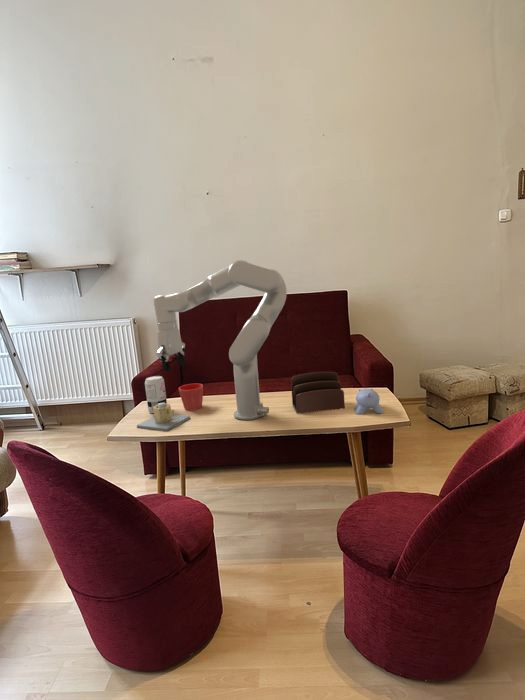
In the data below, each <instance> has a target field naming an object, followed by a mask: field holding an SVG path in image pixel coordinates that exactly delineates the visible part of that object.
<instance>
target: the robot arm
mask: <svg viewBox="0 0 525 700" xmlns="http://www.w3.org/2000/svg"><path fill="white" fill-rule="evenodd" d="M240 286H243V287H245V288H248V289H252V290H256V291H258V292H259V291H260V292H261V293H262V292H263V293H264V295H263V297H262V299H261V301H260V302H259V303H258V306H257V308H256V309H255V310H254V312H253V313H252V315H251V316H250V318H248V319H247V320H246V322H245V323H244V325H243V326H242V329H241V330H240V331H239V333H238V335H237V337H236V338H235V340H234V341H233V342H232V344H231V346H230V347H229V351H228V358H229V361H230V362H231V363H232V364H233V377H234V389H235V400H236V410H235V411H234V413H233V418H234V419H237V420H242V421H247V420H248V421H250V420H251V421H252V420H256V419H259V418H262V417H263V416H265V414H269V412H270V407H269V406H264V405H263V404H264V403H263V402H261V397H260V384H259V370H258V352H259V351H260V350H261V347H262V346H263V344H264V343H265V341H266V340H267V338H268V336H269V335H270V332H271V329H272V326H273V325H274V323H275V321H276V320H277V318H278V316H279V314H280V313H281V312H282V310H283V307H284V306H285V303H286V300H287V293H288V292H287V285H286V283H285V280H284V278H283V276H282V274H281V273H279V271H277V270H276V269H273V268H272V269H269V268H266V267H262V266H259V265H256V264H253V263H251V262H250V263H249V262H248V261H246V260H243V259H242V260H241V259H240V260H236V261H234V262H232V263H231V264H230V265H228V266H226V267H224V268H222V269H220V270H218V271H216V272H214V273H212V274H210V275H209V276H207V277H206V278H205V279H204V280H203V281H202V282H200V283H198V284H196V285H194V286H192V287H190V288H188V289H186V290H184V291H179V292H175V293H173V294H160V295H156V296H154V297H153V305H154V306H153V307H154V311H155V317H156V322H157V329H158V331H157V349H158V350H157V352H156V355H157V357H158V360H160V362H161V364H162V369H163V372H165V373H166V372H171V371H172V369H171V363H170V361H169V358H170V356H174V355H176V359H177V365H178V366H186V361H185V351H186V348H185V347H186V343H185V342H183V341H182V338H181V334H180V330H179V327H178V322H177V321H178V320H177V316H176V313H184V312H186V311H189V310H192V309H193V308H196V307H197V306H199V305H201V304H203V303H205V302H207V301H209V300H212V299H214V298H217V297H220V296H222V295H224V294H225V293H227V292H229V291H231V290H234V289H236V288H238V287H240Z"/></svg>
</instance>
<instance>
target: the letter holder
mask: <svg viewBox="0 0 525 700" xmlns="http://www.w3.org/2000/svg"><path fill="white" fill-rule="evenodd" d="M338 377H339V376H338V373H337V372H335V371H315V372H308V373H307V372H306V373H302V374H296V375H293V376H292V377H291V378H290V386H291V400H292V402H291V403H292V408H293V409H294V411H295V413H296V414H304V413H314V411H315V412H322V411H332V409H333V410H340V408H343V409H345V408H346V405H345V402H346V401H345V392H344V389H342V386H341V385H342V384H341V381H339V379H338Z"/></svg>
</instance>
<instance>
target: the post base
mask: <svg viewBox="0 0 525 700" xmlns="http://www.w3.org/2000/svg"><path fill="white" fill-rule="evenodd" d="M164 407H166V403H159V404H158V408H164ZM189 418H190V419H191V416H190V415H185V414H184V415H183V414H175V413H174V414H172V420H171V421H170V422H167V423H161V424H160V423H155V418H154V416H152V417H150V418H149V419H146V420H144V421H143V422H141V423H139V424H136V428H137V427H139V428H138V429H144V428H146V429H147V430H153V429H155V430H156V431H161V430H163V432H168V431H170V430H172V429H174V428H175V427H177V426H179V425H181V424H182V422H183V423H184V421H185V422H186V421H189V420H190V419H189ZM180 423H181V424H180ZM178 424H179V425H178ZM173 427H174V428H173ZM171 428H172V429H171ZM146 429H145V430H146ZM155 430H154V431H155Z"/></svg>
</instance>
